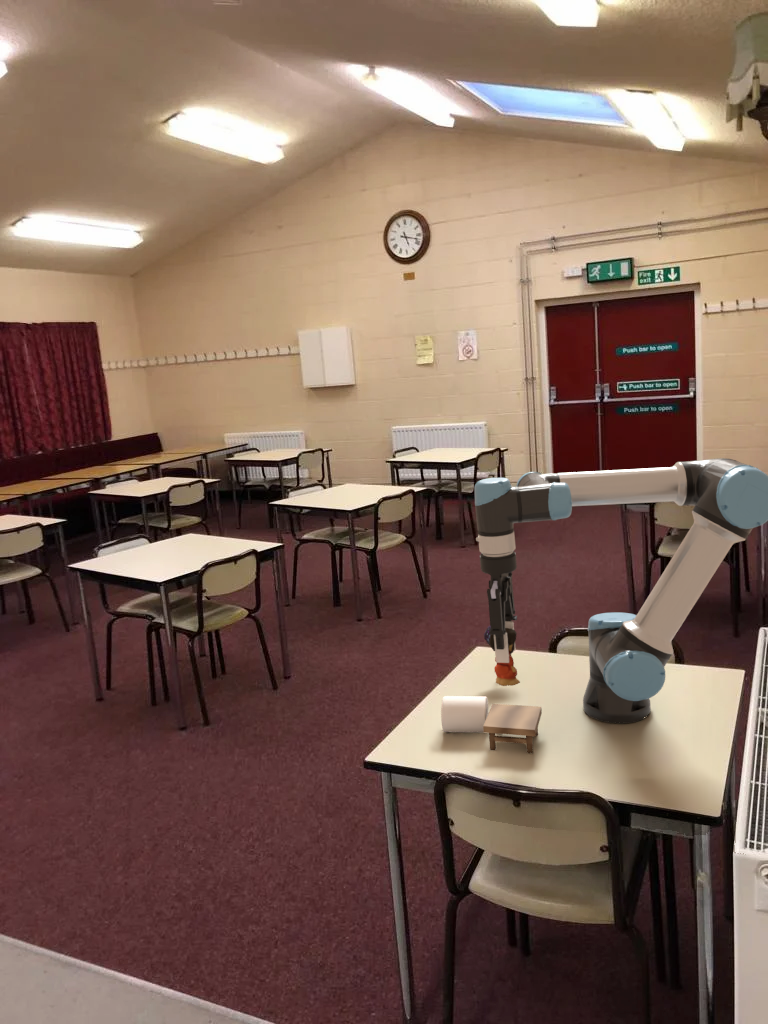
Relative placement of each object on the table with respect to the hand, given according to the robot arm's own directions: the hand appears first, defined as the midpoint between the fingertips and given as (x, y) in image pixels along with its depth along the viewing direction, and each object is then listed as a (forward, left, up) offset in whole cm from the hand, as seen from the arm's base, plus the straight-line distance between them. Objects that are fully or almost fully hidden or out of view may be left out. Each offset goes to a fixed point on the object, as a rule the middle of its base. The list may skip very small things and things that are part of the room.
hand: (506, 655), depth 170 cm
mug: (+11, -6, -21) cm, 24 cm away
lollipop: (+8, -34, -20) cm, 40 cm away
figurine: (0, +1, -6) cm, 6 cm away
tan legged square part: (-1, -1, -20) cm, 20 cm away
